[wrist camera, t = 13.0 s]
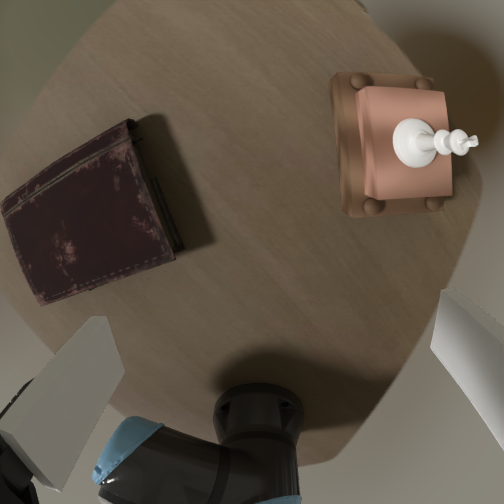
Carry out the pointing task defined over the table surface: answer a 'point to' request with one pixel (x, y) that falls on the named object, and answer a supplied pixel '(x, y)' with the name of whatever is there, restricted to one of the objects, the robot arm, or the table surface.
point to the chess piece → (427, 142)
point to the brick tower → (386, 144)
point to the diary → (90, 219)
